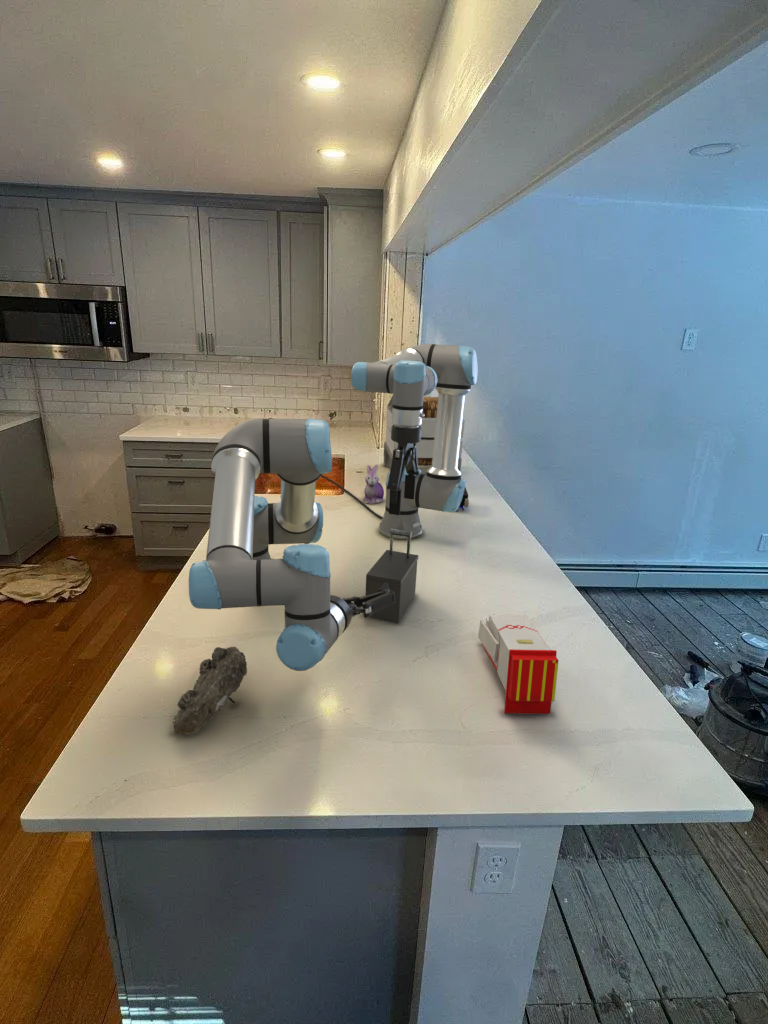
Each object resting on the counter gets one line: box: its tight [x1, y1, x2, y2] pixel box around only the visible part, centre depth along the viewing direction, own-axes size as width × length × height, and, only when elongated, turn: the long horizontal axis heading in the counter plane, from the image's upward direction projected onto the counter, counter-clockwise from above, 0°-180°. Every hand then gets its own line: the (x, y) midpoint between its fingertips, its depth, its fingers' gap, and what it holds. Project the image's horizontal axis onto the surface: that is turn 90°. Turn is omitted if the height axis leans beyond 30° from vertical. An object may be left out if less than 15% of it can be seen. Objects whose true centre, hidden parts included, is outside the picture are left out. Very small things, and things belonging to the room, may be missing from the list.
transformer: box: [383, 395, 465, 473], centre depth 268 cm, size 34×33×41 cm
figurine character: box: [455, 486, 470, 512], centre depth 229 cm, size 7×8×15 cm
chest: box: [364, 560, 418, 624], centre depth 150 cm, size 16×9×11 cm, turn 162°
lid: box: [365, 528, 419, 585], centre depth 147 cm, size 17×9×9 cm, turn 162°
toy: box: [477, 613, 560, 715], centre depth 124 cm, size 12×13×30 cm
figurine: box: [363, 464, 385, 505], centre depth 230 cm, size 9×10×15 cm
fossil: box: [172, 646, 248, 736], centre depth 111 cm, size 22×10×15 cm
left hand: (356, 588), depth 124 cm, fingers open, 13 cm apart
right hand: (402, 506), depth 148 cm, fingers open, 13 cm apart
